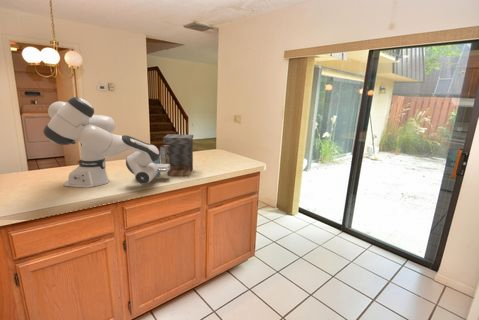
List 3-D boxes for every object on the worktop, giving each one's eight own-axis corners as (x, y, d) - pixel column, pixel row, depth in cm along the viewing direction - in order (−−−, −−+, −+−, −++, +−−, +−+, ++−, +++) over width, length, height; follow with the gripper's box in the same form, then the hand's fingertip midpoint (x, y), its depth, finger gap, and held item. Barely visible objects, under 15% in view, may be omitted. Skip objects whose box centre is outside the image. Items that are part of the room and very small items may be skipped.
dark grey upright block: (164, 176, 162) (163, 137, 156) (169, 169, 178) (168, 134, 172) (190, 176, 164) (190, 138, 158) (193, 170, 179) (193, 134, 173)
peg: (151, 176, 161) (150, 155, 157) (153, 174, 165) (152, 154, 162) (158, 176, 161) (158, 155, 158) (160, 174, 165) (159, 154, 162)
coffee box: (170, 165, 191) (169, 144, 187) (175, 166, 187) (175, 145, 184) (160, 167, 184) (159, 145, 180) (165, 168, 180) (164, 146, 176)
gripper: (168, 165, 149) (172, 159, 162) (132, 164, 147) (139, 159, 161) (168, 175, 150) (172, 169, 164) (133, 174, 149) (140, 168, 162)
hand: (156, 164), depth 162 cm, fingers open, 6 cm apart
